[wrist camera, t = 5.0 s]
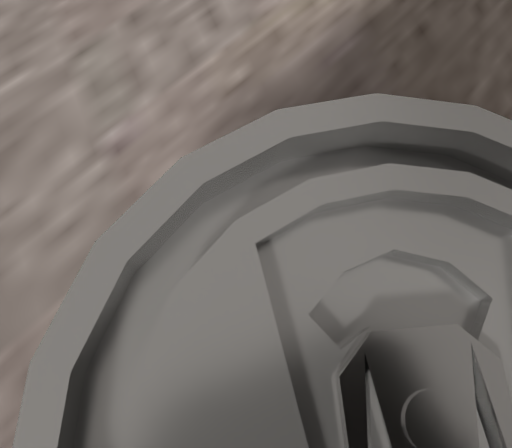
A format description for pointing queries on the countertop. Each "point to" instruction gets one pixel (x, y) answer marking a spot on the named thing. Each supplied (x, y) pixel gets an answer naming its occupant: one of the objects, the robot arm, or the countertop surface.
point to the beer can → (297, 292)
